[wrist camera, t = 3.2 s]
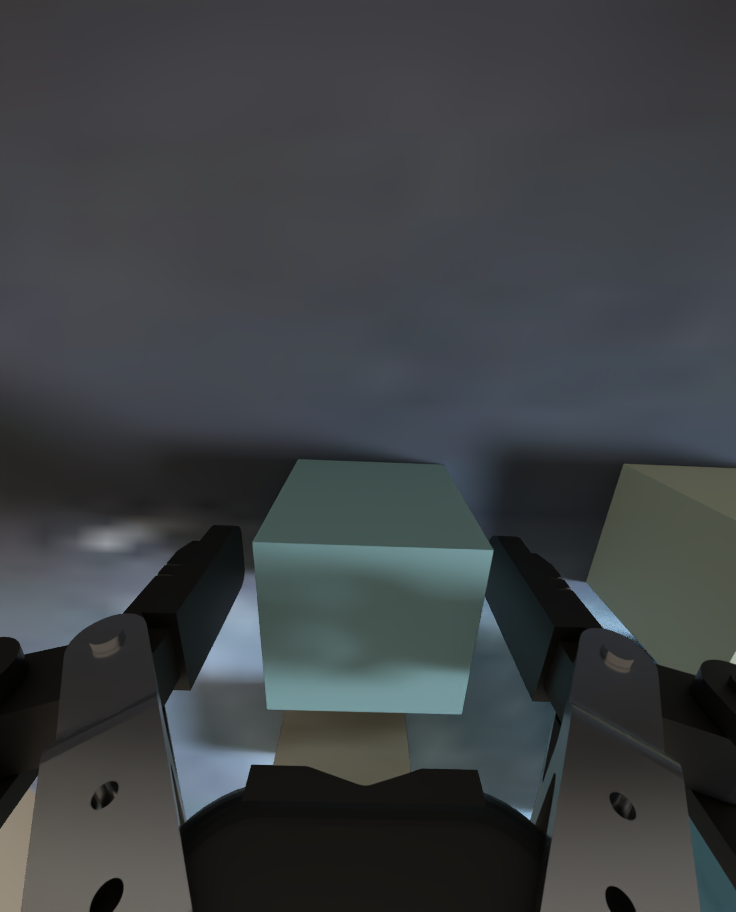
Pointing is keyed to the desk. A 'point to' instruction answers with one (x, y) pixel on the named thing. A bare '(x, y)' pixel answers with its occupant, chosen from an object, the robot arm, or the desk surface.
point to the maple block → (346, 744)
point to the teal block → (369, 589)
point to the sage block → (672, 562)
